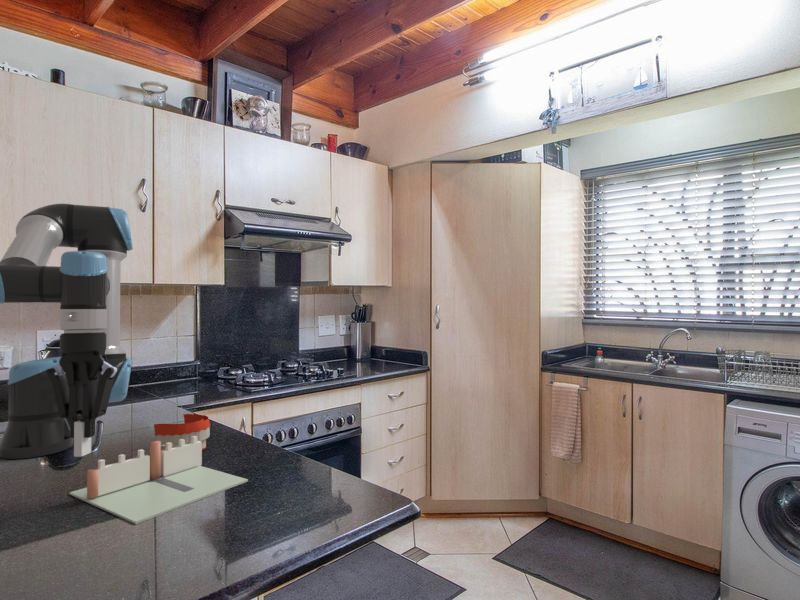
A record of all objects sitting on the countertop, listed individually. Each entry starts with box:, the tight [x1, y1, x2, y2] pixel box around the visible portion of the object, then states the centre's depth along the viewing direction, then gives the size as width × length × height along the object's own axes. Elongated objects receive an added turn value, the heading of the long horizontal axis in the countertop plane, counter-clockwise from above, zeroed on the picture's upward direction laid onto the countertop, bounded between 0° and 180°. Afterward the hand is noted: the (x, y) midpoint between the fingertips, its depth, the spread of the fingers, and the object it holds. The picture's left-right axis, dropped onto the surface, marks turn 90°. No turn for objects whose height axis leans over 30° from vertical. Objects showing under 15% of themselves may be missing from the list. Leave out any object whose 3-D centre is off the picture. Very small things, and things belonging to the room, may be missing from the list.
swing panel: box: [86, 448, 150, 499], centre depth 93 cm, size 11×2×6 cm, turn 147°
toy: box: [153, 413, 211, 452], centre depth 119 cm, size 12×10×8 cm
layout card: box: [69, 465, 249, 525], centre depth 95 cm, size 24×23×1 cm
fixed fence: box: [149, 436, 203, 480], centre depth 103 cm, size 2×12×8 cm, turn 147°
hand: (82, 454), depth 90 cm, fingers closed
